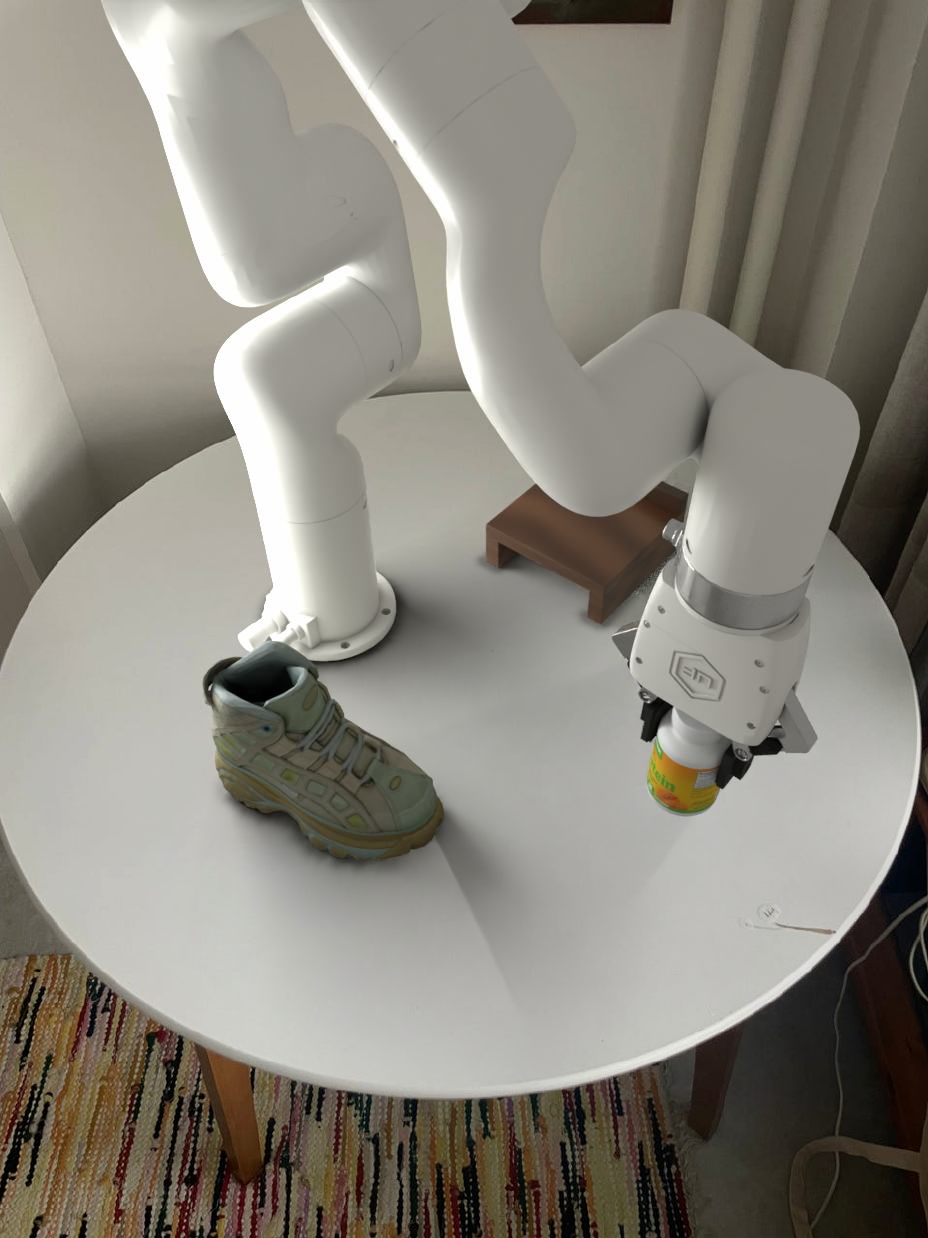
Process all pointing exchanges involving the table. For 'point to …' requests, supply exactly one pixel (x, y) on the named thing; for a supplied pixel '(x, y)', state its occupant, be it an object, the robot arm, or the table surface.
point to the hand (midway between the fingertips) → (692, 749)
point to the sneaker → (314, 759)
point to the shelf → (589, 542)
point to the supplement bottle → (685, 764)
